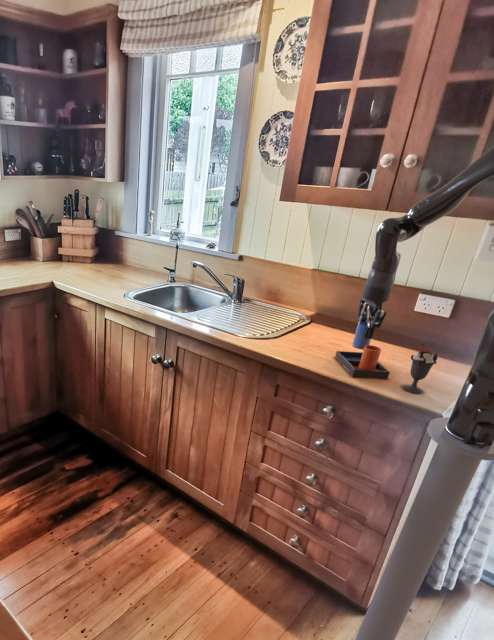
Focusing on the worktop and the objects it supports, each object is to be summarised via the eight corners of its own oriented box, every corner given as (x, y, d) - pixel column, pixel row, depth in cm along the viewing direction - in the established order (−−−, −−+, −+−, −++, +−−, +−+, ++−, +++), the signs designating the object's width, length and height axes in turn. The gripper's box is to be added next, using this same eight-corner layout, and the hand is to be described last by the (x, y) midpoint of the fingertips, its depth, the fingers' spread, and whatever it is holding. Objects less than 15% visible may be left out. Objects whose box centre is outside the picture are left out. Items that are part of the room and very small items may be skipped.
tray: (387, 379, 147) (389, 371, 146) (352, 377, 147) (354, 369, 146) (366, 359, 160) (368, 352, 159) (334, 357, 160) (336, 350, 159)
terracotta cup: (376, 374, 148) (384, 351, 144) (361, 373, 148) (368, 350, 144) (369, 368, 152) (377, 345, 148) (355, 367, 152) (362, 344, 149)
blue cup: (370, 350, 152) (377, 326, 149) (356, 349, 152) (362, 325, 149) (364, 345, 156) (370, 322, 153) (349, 344, 156) (355, 321, 153)
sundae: (396, 388, 141) (412, 342, 135) (406, 382, 145) (422, 338, 138) (419, 397, 137) (437, 350, 130) (428, 391, 140) (446, 345, 134)
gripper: (402, 291, 138) (385, 344, 146) (380, 279, 151) (366, 328, 159) (377, 290, 139) (361, 342, 146) (357, 277, 151) (344, 326, 159)
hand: (364, 334), depth 152 cm, fingers closed on blue cup, 5 cm apart
